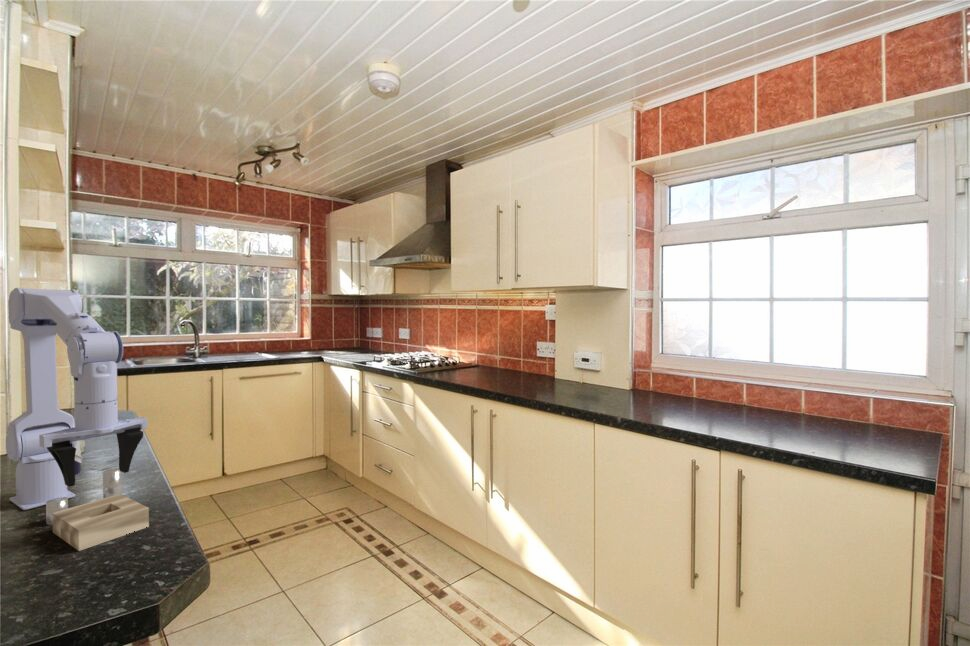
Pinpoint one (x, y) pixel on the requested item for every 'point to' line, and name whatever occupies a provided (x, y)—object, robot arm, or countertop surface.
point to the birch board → (100, 521)
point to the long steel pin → (112, 482)
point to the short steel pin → (55, 508)
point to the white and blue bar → (78, 456)
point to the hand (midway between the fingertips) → (98, 477)
